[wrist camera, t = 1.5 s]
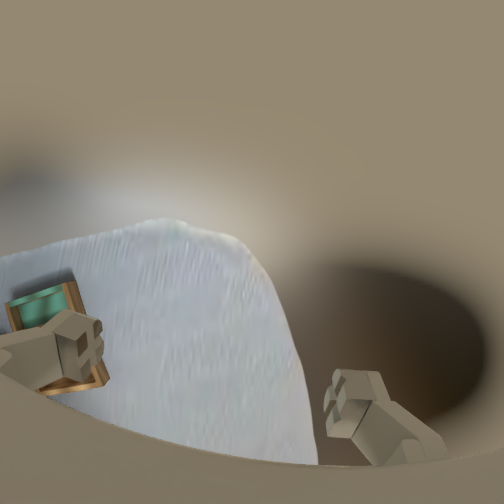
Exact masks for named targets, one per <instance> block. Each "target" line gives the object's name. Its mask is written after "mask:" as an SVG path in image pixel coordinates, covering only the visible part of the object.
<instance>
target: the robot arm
mask: <svg viewBox="0 0 504 504" xmlns="http://www.w3.org/2000/svg"><path fill="white" fill-rule="evenodd" d="M102 331H103V329H102V322H101V321H100V320H99V319H96V318H93V317H90V316H87V315H84V314H81V313H78V312H75V311H72V310H69V309H63V310H62V311H60V312H59V313H58V314H57V315H55V316H54V317H53V318H52V319H51V320H49V321H48V322H47V323H46V324H45V325H43V326H42V327H41V328H40V327H34V328H29V329H25V330H21V331H16V332H12V333H7V334H3V335H0V504H504V448H500V449H497V450H492V451H488V452H484V453H479V454H474V455H469V456H463V457H457V458H450V456H449V453H448V451H447V449H446V446H445V444H444V442H443V440H442V438H441V436H440V435H438V434H437V433H436V432H434V431H433V430H432V429H430V428H429V427H428V426H426V425H425V424H424V423H422V422H421V421H420V420H418V419H417V418H416V417H414V416H413V415H412V414H410V413H409V412H408V411H407V410H405V409H404V408H403V407H401V406H400V405H399V404H397V403H396V402H395V401H391V400H390V398H389V395H388V393H387V390H386V388H385V385H384V383H383V380H382V378H381V375H380V373H378V372H377V371H356V370H345V369H336V371H335V372H334V374H333V377H332V380H333V384H332V385H331V386H330V387H328V389H327V392H326V394H325V399H324V413H325V414H326V415H327V416H328V419H327V421H326V428H327V435H328V436H329V437H340V438H352V441H353V442H354V443H355V445H356V446H357V447H358V448H359V449H360V451H361V452H362V453H363V454H364V455H365V457H366V458H367V459H368V460H369V461H370V462H371V464H372V465H373V466H325V465H306V464H293V463H282V462H273V461H265V460H257V459H250V458H243V457H237V456H231V455H226V454H220V453H215V452H210V451H205V450H201V449H196V448H192V447H188V446H183V445H179V444H175V443H172V442H168V441H164V440H161V439H157V438H154V437H150V436H147V435H143V434H140V433H137V432H134V431H131V430H128V429H125V428H122V427H119V426H116V425H113V424H110V423H107V422H105V421H102V420H99V419H97V418H94V417H91V416H89V415H86V414H84V413H81V412H79V411H77V410H74V409H72V408H70V407H67V406H65V405H63V404H61V403H58V402H56V401H54V400H52V399H50V398H48V397H46V396H44V395H42V394H40V393H38V392H36V391H34V390H36V389H39V388H41V387H43V386H45V385H47V384H49V383H51V382H54V381H56V380H58V379H60V378H62V377H63V376H65V377H67V378H70V379H73V380H75V381H78V382H81V383H84V381H85V380H86V379H87V377H88V376H89V375H90V374H91V367H93V366H96V365H98V363H99V362H100V360H101V358H102V355H103V351H104V341H103V340H102V338H101V336H100V335H99V334H100V333H101V332H102Z"/></svg>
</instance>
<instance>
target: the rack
mask: <svg viewBox="0 0 504 504" xmlns="http://www.w3.org/2000/svg"><path fill="white" fill-rule="evenodd" d="M5 307H6V311H7V314H8V318H9V321H10V324H11V327H12V330H13V332H16V331H21V330H25V329H29V328H34V327H40V328H41V327H42V326H43V325H45V324H46V323H47V322H48V321H49V320H51V319H52V318H53V317H54V316H55V315H57V314H58V313H59V312H60V311H62V310H63V309H69V310H72V311H75V312H78V313H81V314H84V315H86V312H85V309H84V306H83V303H82V300H81V296H80V293H79V290H78V286H77V283H76V281H70V282H65V283H62V284H59V285H57V286H54V287H51V288H48V289H45V290H42V291H39V292H36V293H33V294H30V295H27V296H25V297H22V298H19V299H16V300H13V301H10V302H7V303H5ZM109 379H110V377H109V375H108V372H107V370H106V367H105V365H104V362H103V360H102V358H101V360H100V362H99V363H98V365H96V366H93V367H91V374H90V375H89V376H88V377H87V379H86V380H85V381H84V383H81V382H78V381H75V380H73V379H70V378H67V377H65V376H63V377H62V378H60V379H58V380H56V381H54V382H51V383H49V384H47V385H45V386H43V387H41V388H39V389H36V392H38V393H40V394H42V395H44V396H50V395H56V394H63V393H69V392H75V391H81V390H87V389H92V388H98V387H103V386H104V385H105V384H106V383H107V381H108V380H109Z"/></svg>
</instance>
